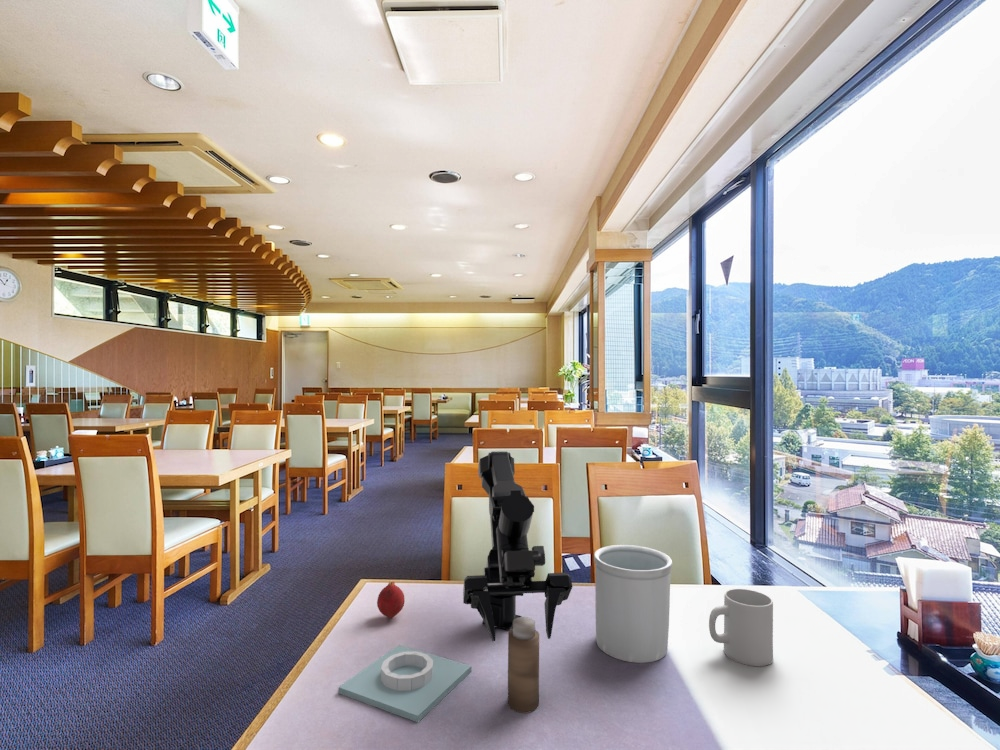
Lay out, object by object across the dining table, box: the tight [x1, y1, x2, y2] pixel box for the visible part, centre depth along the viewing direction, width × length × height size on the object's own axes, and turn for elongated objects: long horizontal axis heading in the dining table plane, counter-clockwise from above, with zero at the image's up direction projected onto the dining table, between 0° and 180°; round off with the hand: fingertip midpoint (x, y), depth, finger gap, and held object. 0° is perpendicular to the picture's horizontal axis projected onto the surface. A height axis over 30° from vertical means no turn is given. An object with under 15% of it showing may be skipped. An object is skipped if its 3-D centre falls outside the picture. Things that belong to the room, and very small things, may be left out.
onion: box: [376, 579, 406, 619], centre depth 116 cm, size 6×6×8 cm
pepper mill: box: [507, 616, 540, 714], centre depth 86 cm, size 5×5×13 cm
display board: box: [337, 644, 472, 723], centre depth 92 cm, size 16×16×3 cm
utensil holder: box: [593, 544, 673, 664], centre depth 105 cm, size 15×15×18 cm
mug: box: [708, 588, 774, 667], centre depth 102 cm, size 12×8×11 cm
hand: (521, 639), depth 88 cm, fingers open, 9 cm apart
